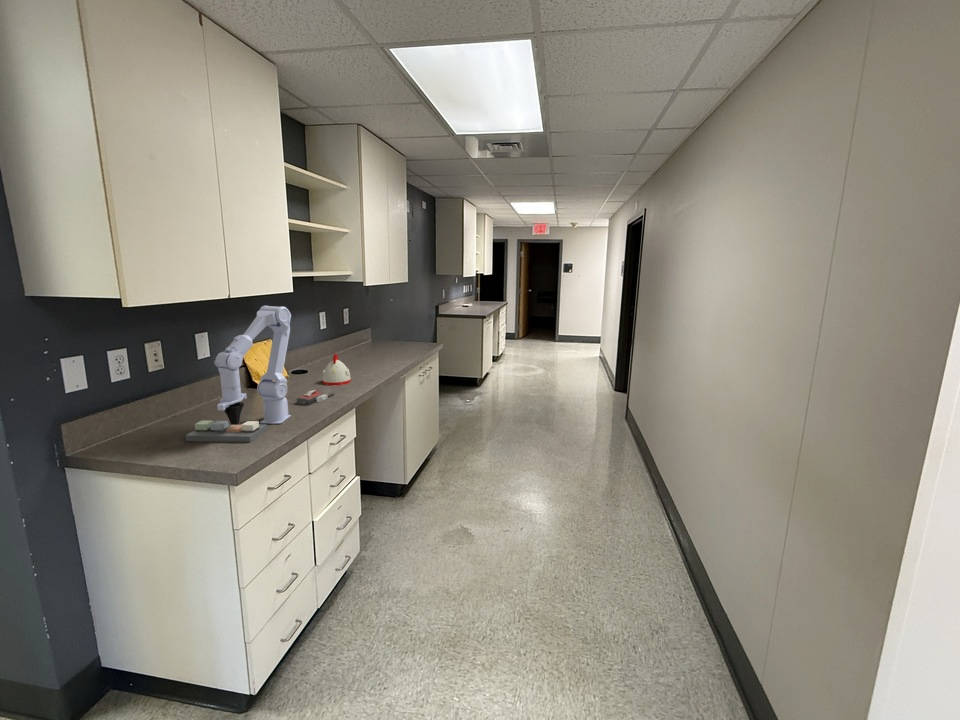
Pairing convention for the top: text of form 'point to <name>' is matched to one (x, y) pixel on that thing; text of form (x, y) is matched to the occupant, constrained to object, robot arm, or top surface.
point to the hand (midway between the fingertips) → (235, 424)
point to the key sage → (203, 426)
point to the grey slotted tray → (226, 435)
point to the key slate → (219, 426)
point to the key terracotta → (234, 428)
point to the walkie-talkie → (312, 397)
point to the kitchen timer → (336, 373)
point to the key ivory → (250, 426)
